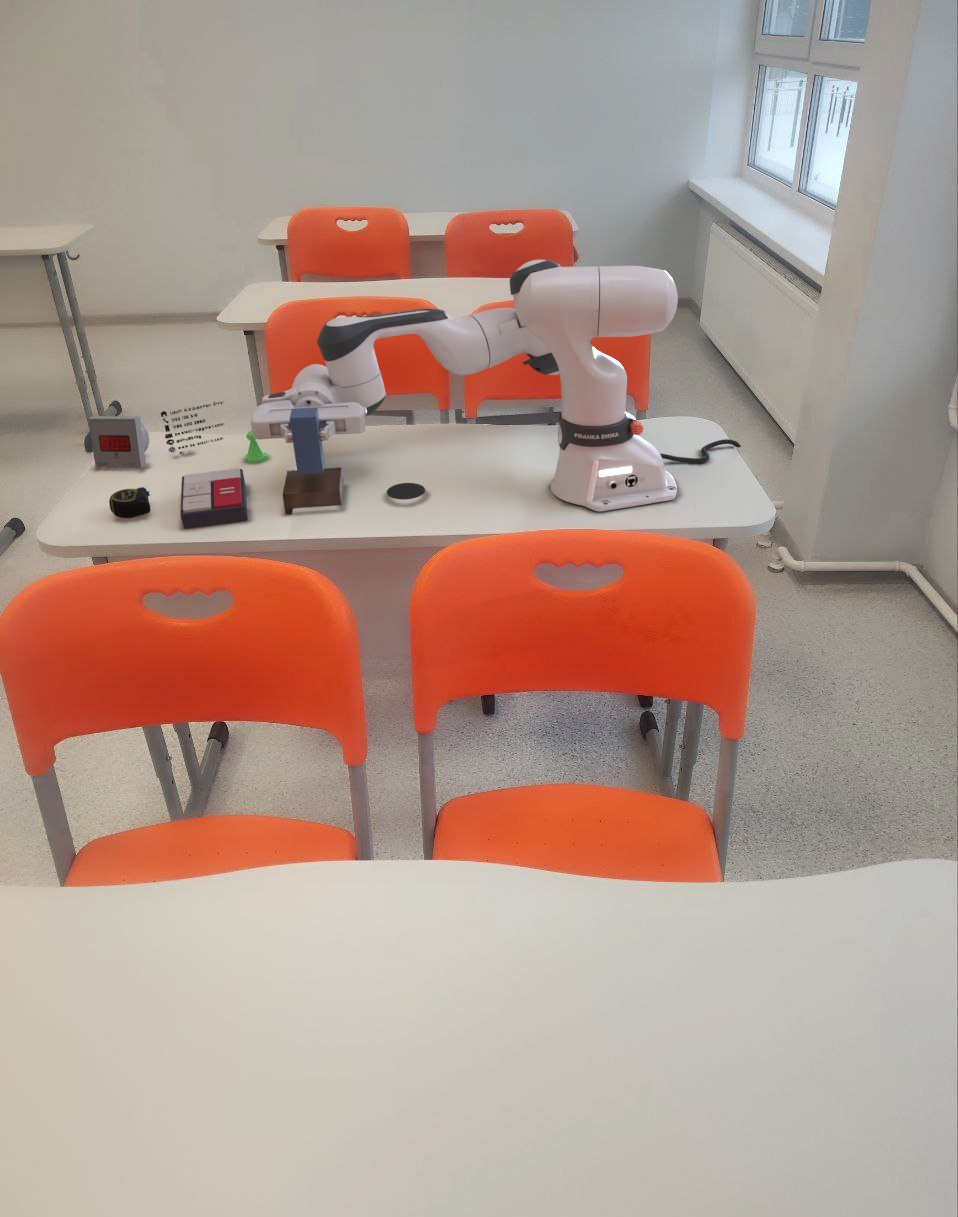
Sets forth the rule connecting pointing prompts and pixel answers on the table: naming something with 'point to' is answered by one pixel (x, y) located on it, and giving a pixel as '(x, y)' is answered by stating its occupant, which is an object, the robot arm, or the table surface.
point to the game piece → (254, 450)
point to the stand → (313, 489)
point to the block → (307, 440)
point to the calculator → (213, 498)
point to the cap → (405, 491)
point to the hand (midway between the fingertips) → (306, 437)
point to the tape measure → (130, 503)
